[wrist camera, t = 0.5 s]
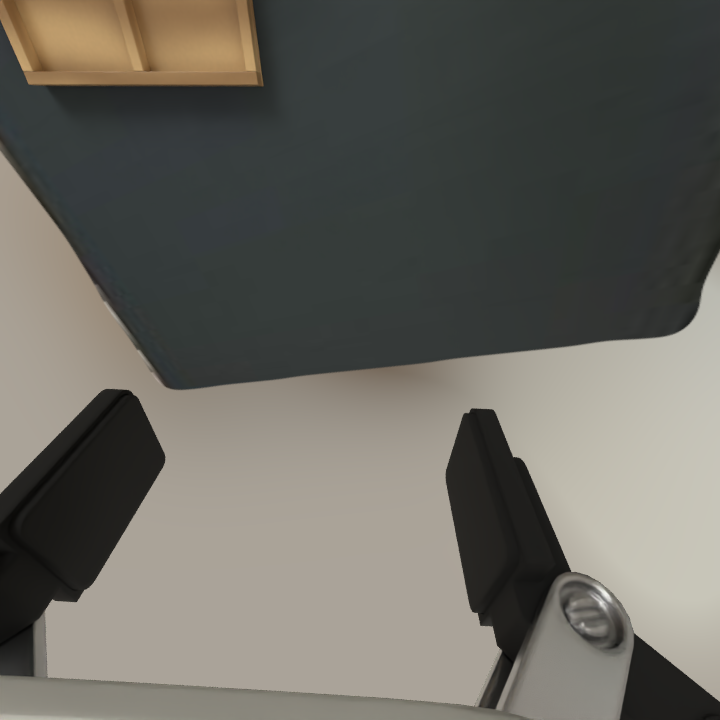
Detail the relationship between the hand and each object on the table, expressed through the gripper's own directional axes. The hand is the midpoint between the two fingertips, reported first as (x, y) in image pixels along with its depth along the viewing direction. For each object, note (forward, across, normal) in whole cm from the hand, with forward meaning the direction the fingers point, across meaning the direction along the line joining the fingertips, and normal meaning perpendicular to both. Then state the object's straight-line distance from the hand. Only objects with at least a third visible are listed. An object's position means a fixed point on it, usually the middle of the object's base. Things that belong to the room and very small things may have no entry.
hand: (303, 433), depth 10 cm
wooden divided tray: (+28, +17, -14) cm, 36 cm away
